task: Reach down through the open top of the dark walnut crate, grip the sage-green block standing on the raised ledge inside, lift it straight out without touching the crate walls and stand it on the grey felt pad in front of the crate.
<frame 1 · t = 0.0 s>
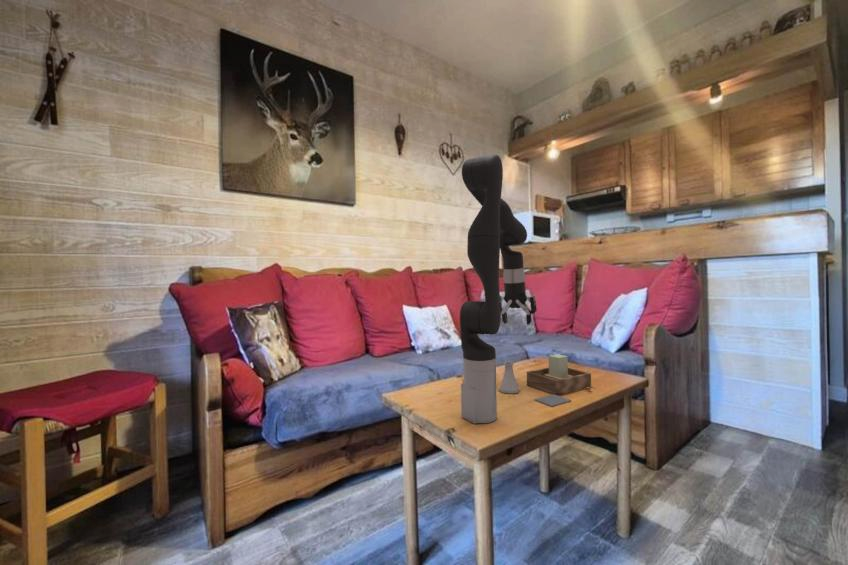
hand: (517, 323, 133), 22 cm above the table, tool pointing down, fingers open, 8 cm apart
flask: (509, 391, 125), on the table
crate: (558, 386, 129), on the table
block: (558, 375, 129), point 4 cm above the table, touching crate
pad: (552, 400, 114), on the table
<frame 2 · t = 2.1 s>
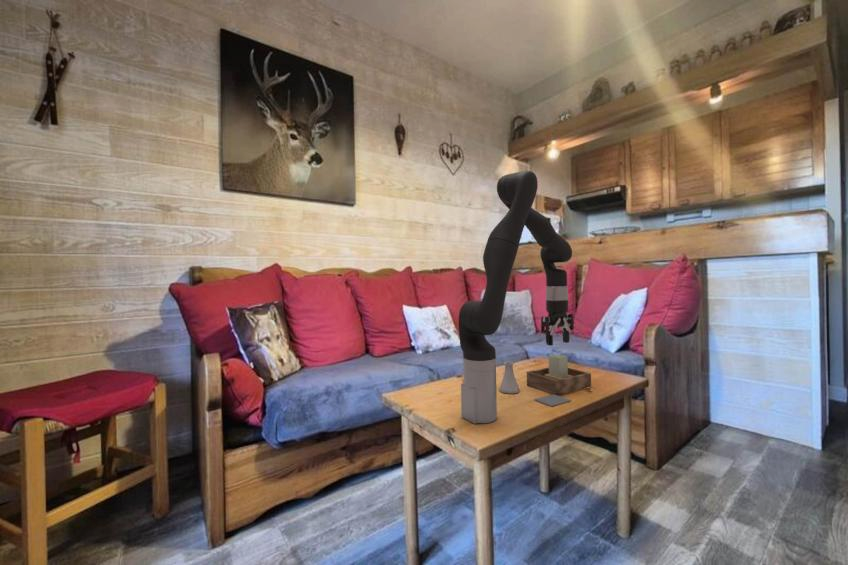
hand: (558, 343, 129), 15 cm above the table, tool pointing down, fingers open, 8 cm apart
nothing on the table moved.
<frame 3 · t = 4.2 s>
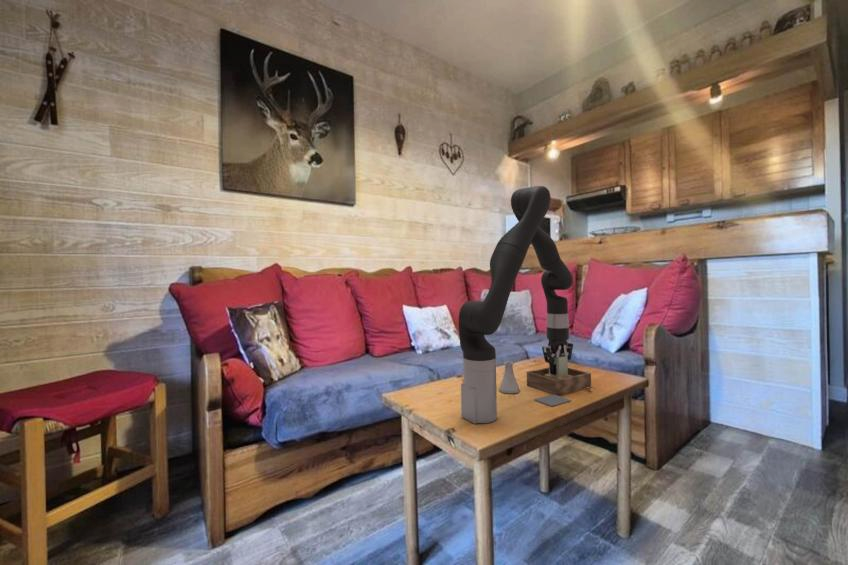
hand: (558, 373, 129), 5 cm above the table, tool pointing down, fingers closed on block, 4 cm apart
block: (558, 375, 129), point 4 cm above the table, touching crate, gripper
everything else where it was.
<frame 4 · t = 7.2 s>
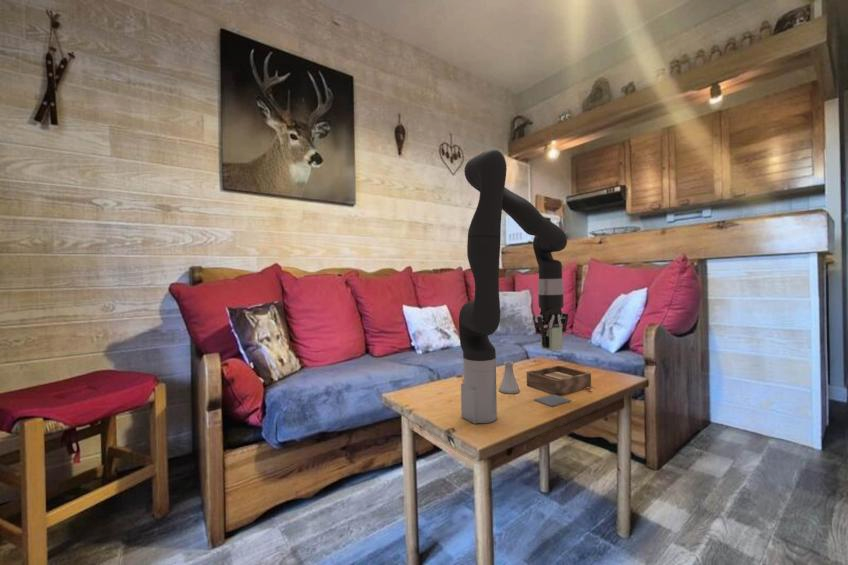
hand: (551, 346, 114), 17 cm above the table, tool pointing down, fingers closed on block, 4 cm apart
block: (551, 349, 114), point 17 cm above the table, touching gripper
everything else where it was.
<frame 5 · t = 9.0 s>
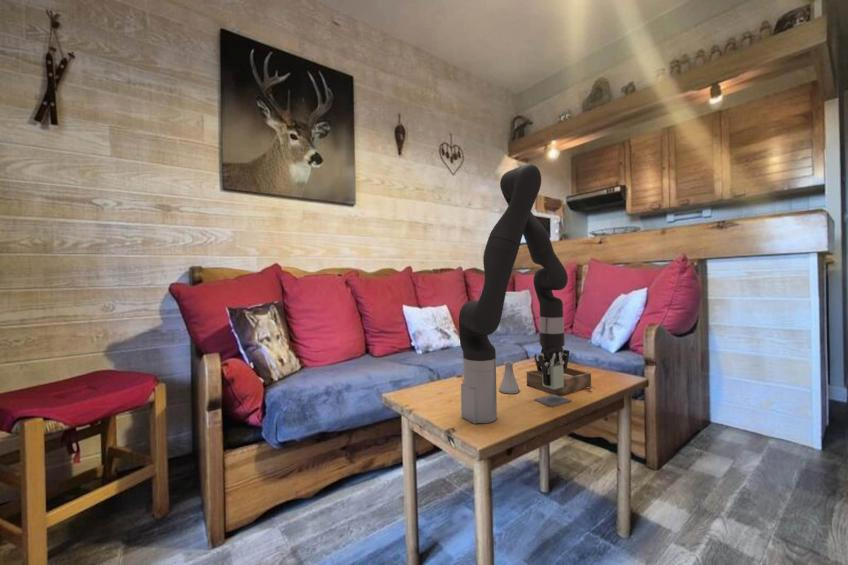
hand: (552, 383, 114), 5 cm above the table, tool pointing down, fingers closed on block, 4 cm apart
block: (553, 386, 114), point 5 cm above the table, touching gripper
everything else where it was.
when the fingers open (2 cm above the table, at t = 10.5 s): block drops 1 cm, resting on pad.
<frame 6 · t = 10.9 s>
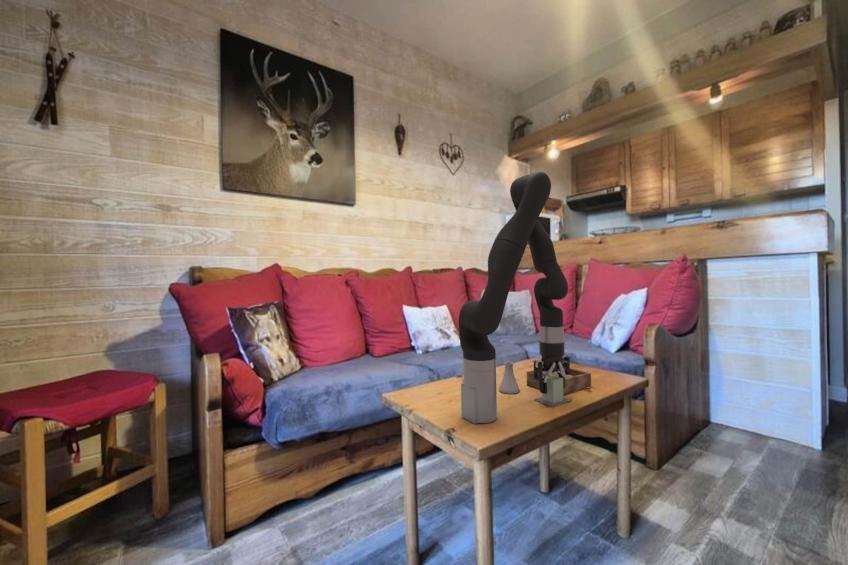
hand: (552, 391, 114), 3 cm above the table, tool pointing down, fingers open, 7 cm apart
block: (552, 399, 114), resting on pad
everything else where it was.
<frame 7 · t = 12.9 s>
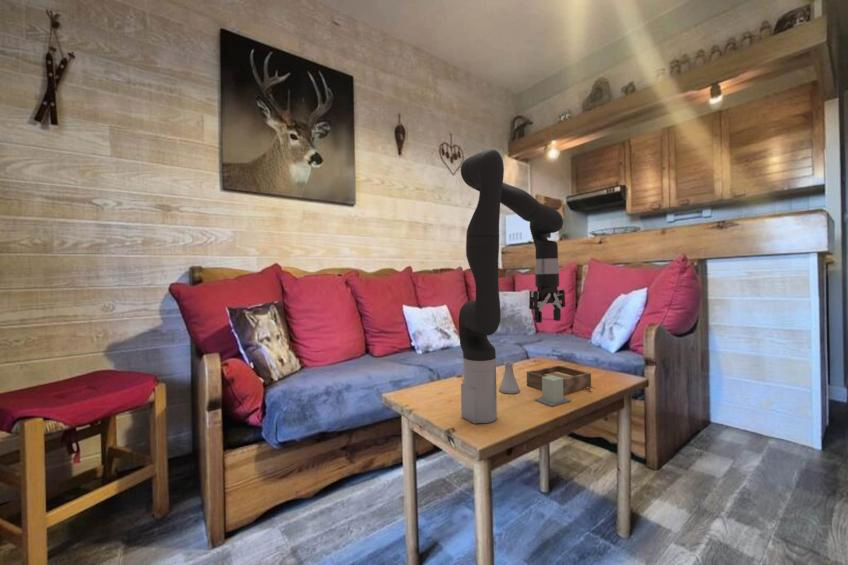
hand: (547, 321, 119), 25 cm above the table, tool pointing down, fingers open, 8 cm apart
nothing on the table moved.
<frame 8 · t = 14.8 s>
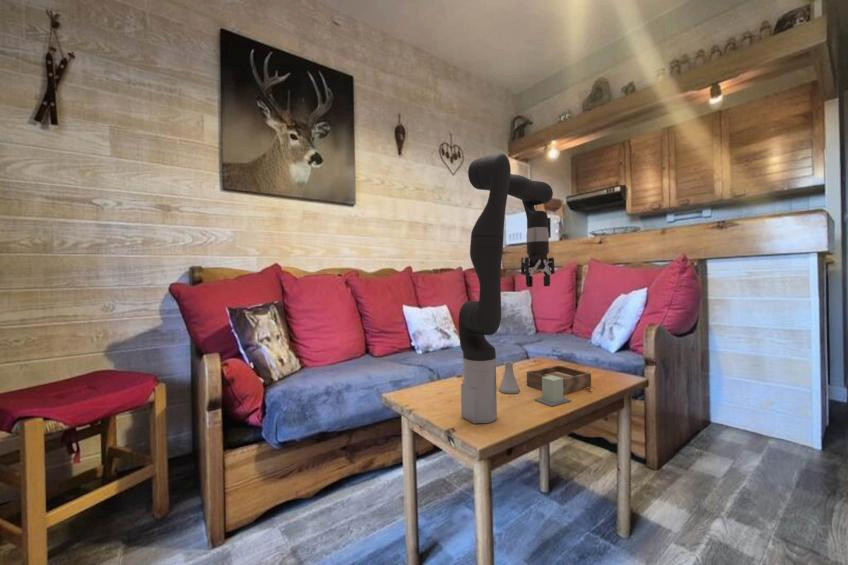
hand: (538, 286, 128), 36 cm above the table, tool pointing down, fingers open, 8 cm apart
nothing on the table moved.
at the end: block inside the target area on the pad (0.0 cm from its centre), point 0.4 cm above the pad's base; block tilted 0°; block touching pad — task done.
